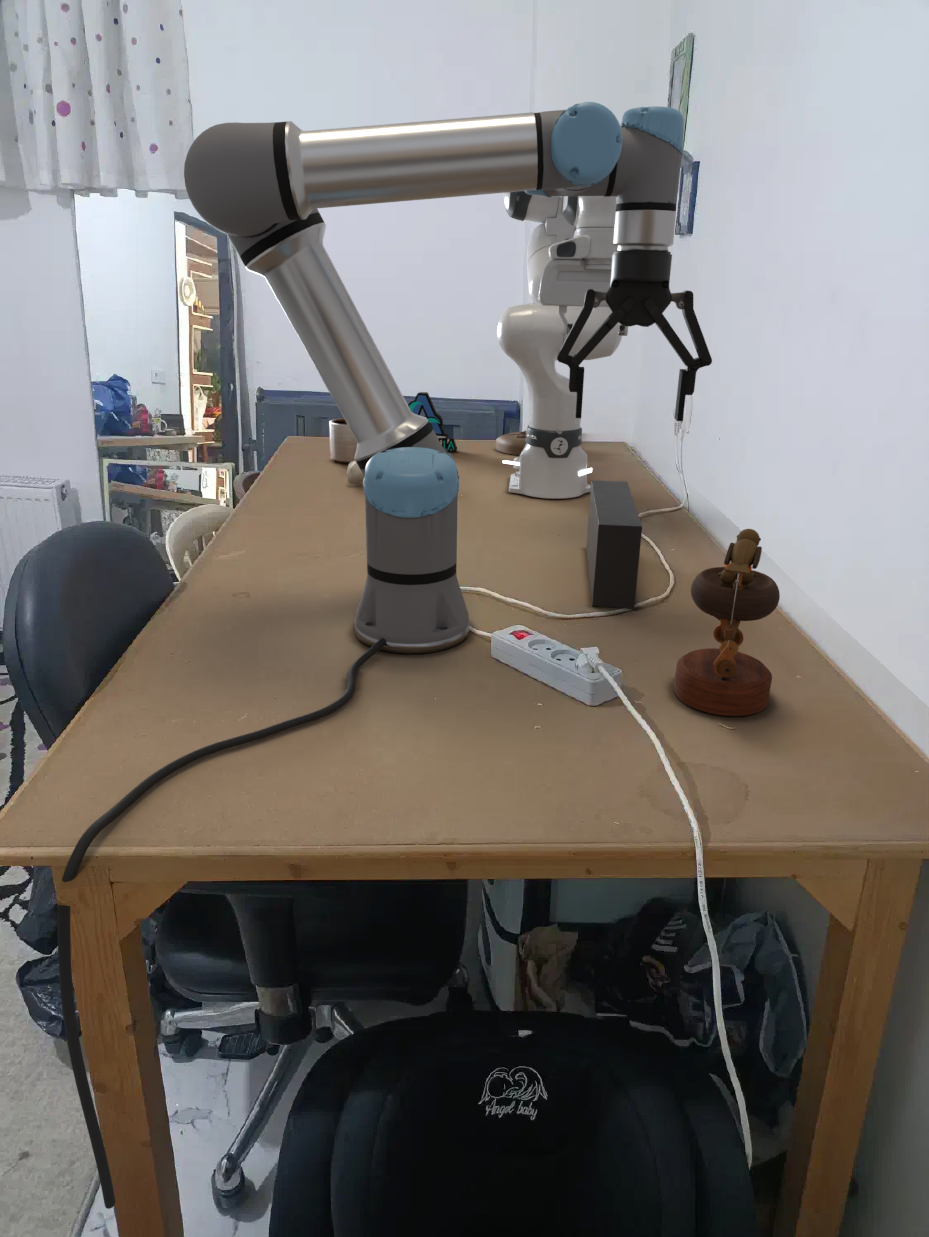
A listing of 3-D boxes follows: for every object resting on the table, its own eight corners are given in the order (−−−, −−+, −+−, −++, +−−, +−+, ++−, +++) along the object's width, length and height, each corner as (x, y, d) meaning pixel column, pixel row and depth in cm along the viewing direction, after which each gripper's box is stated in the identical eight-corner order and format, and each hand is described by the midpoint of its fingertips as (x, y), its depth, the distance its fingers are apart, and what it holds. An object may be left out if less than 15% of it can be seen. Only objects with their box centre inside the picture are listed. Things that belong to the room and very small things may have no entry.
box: (634, 608, 122) (642, 526, 117) (592, 606, 123) (598, 524, 118) (621, 550, 148) (627, 481, 143) (586, 549, 148) (591, 480, 143)
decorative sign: (457, 450, 228) (457, 393, 222) (456, 451, 225) (457, 394, 220) (387, 448, 229) (386, 391, 223) (386, 449, 226) (384, 392, 221)
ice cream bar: (502, 465, 211) (502, 448, 209) (493, 443, 237) (494, 428, 235) (586, 465, 212) (587, 448, 210) (568, 444, 238) (569, 429, 236)
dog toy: (434, 479, 195) (434, 457, 194) (437, 485, 190) (437, 463, 188) (346, 480, 192) (345, 459, 190) (347, 487, 187) (346, 464, 185)
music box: (786, 726, 90) (801, 547, 83) (681, 727, 92) (686, 551, 84) (757, 665, 104) (767, 507, 97) (666, 666, 106) (669, 511, 98)
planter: (327, 456, 217) (325, 418, 214) (369, 454, 220) (368, 417, 217) (334, 465, 208) (332, 425, 204) (377, 463, 211) (376, 424, 207)
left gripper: (736, 251, 110) (716, 416, 118) (544, 249, 112) (537, 411, 120) (748, 249, 103) (726, 425, 111) (544, 247, 105) (536, 419, 113)
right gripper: (662, 249, 143) (654, 335, 149) (541, 247, 145) (537, 332, 150) (666, 248, 138) (658, 337, 143) (540, 246, 139) (536, 334, 145)
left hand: (628, 418), depth 116 cm, fingers open, 13 cm apart
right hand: (595, 335), depth 147 cm, fingers open, 8 cm apart
